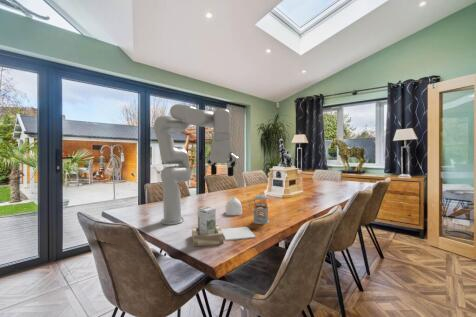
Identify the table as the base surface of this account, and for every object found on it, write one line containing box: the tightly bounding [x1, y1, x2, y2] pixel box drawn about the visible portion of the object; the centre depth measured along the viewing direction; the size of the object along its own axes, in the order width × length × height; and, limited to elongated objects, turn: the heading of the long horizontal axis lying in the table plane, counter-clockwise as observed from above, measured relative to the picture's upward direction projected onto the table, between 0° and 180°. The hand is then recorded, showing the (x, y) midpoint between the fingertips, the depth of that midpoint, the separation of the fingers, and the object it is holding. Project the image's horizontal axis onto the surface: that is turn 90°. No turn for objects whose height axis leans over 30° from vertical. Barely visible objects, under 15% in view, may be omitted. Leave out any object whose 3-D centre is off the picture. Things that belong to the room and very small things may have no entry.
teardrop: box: [224, 194, 243, 216], centre depth 151 cm, size 11×11×12 cm
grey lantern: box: [248, 177, 270, 225], centre depth 133 cm, size 10×12×25 cm
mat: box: [220, 226, 256, 242], centre depth 114 cm, size 14×14×1 cm
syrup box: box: [197, 206, 217, 235], centre depth 107 cm, size 6×6×14 cm
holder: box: [191, 224, 224, 247], centre depth 107 cm, size 13×13×4 cm
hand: (222, 175), depth 107 cm, fingers open, 9 cm apart
